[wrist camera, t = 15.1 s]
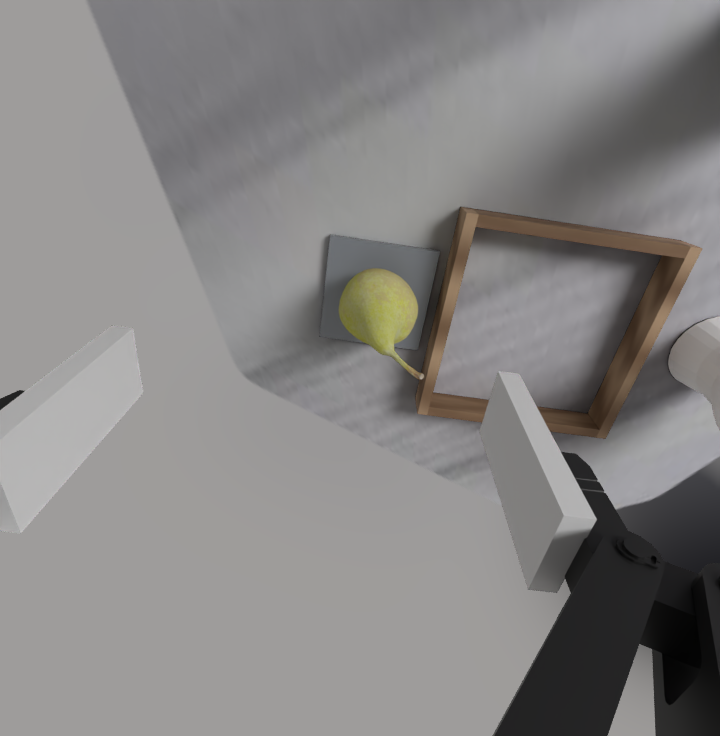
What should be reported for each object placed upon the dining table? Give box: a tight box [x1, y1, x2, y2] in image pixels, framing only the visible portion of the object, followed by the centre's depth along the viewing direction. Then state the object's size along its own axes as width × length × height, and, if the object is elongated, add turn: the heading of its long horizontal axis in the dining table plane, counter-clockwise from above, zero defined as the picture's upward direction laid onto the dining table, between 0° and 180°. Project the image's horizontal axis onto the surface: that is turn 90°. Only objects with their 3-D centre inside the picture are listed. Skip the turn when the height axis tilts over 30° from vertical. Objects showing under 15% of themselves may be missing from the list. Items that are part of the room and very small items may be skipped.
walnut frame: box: [415, 207, 702, 439], centre depth 42 cm, size 20×20×3 cm
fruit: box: [339, 268, 424, 380], centre depth 37 cm, size 7×8×12 cm
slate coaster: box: [319, 235, 440, 350], centre depth 42 cm, size 10×10×1 cm
